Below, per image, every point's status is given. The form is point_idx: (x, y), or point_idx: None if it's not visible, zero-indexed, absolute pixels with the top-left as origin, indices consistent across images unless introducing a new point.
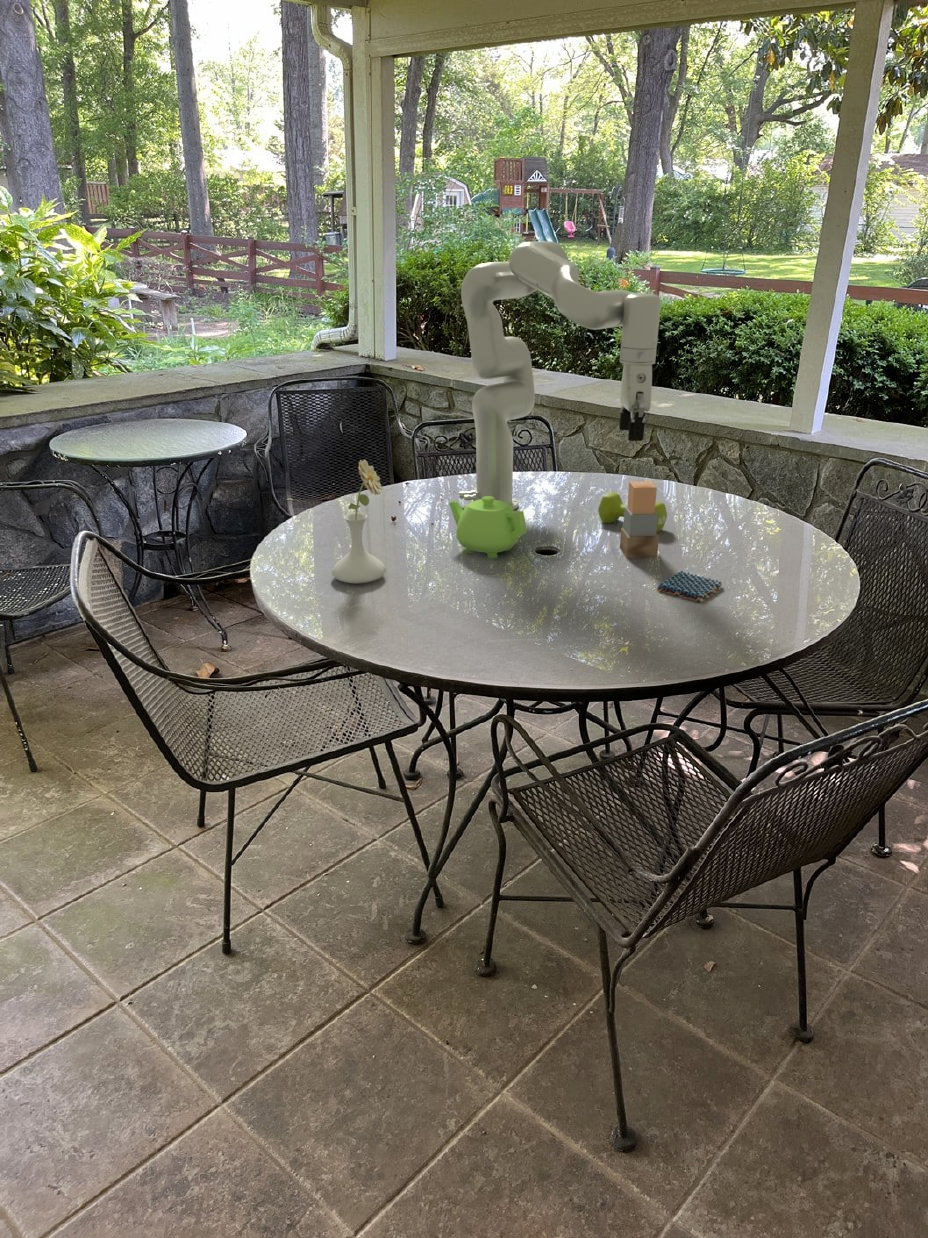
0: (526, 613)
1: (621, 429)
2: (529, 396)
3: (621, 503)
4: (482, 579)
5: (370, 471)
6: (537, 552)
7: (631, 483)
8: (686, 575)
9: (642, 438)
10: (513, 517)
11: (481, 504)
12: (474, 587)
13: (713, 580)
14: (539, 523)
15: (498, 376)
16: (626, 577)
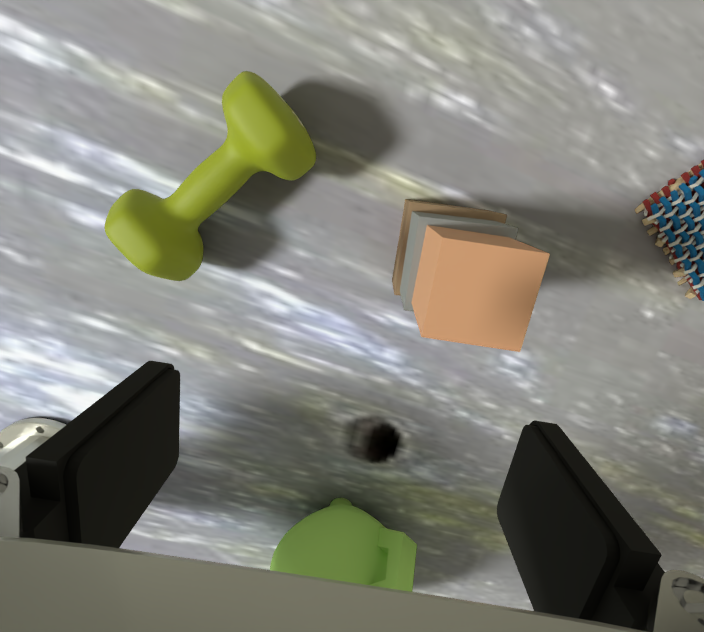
0: (672, 553)
1: (176, 455)
2: None
3: (166, 210)
4: (492, 576)
5: None
6: (378, 460)
7: (451, 337)
8: (683, 204)
9: (557, 433)
10: (363, 572)
11: None
12: (524, 594)
13: None
14: (185, 406)
15: None
16: (587, 334)
